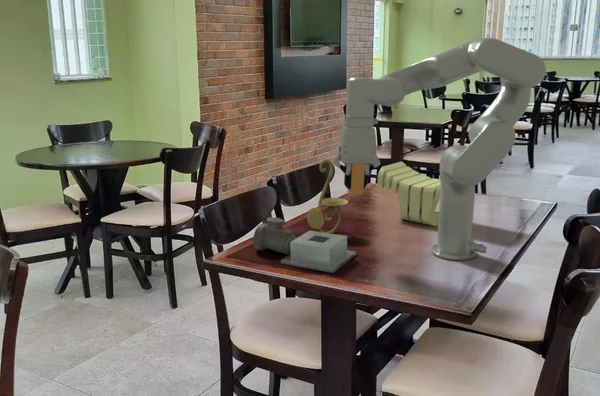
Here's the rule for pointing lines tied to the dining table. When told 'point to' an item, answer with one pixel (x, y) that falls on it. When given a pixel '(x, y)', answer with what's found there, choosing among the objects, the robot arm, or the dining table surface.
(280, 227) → the pipe fitting
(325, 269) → the square hole block
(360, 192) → the orange rectangular block
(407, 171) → the slatted curved stool
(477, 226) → the dining table surface
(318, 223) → the wall sconce
